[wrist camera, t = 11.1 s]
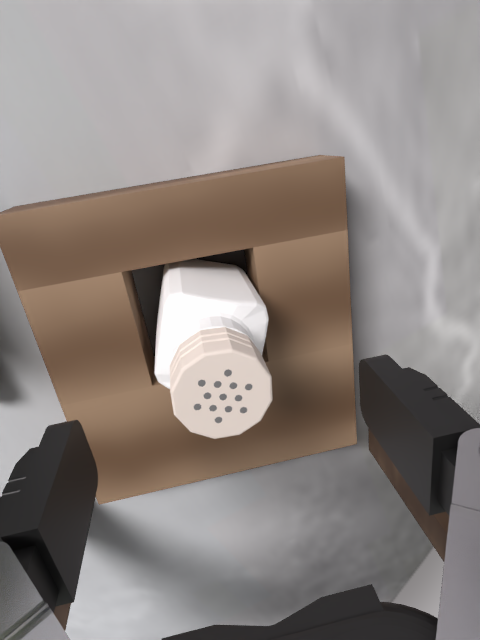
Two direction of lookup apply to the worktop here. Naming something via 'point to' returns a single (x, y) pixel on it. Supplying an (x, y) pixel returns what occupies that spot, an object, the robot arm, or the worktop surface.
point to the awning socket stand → (132, 337)
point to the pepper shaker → (212, 347)
